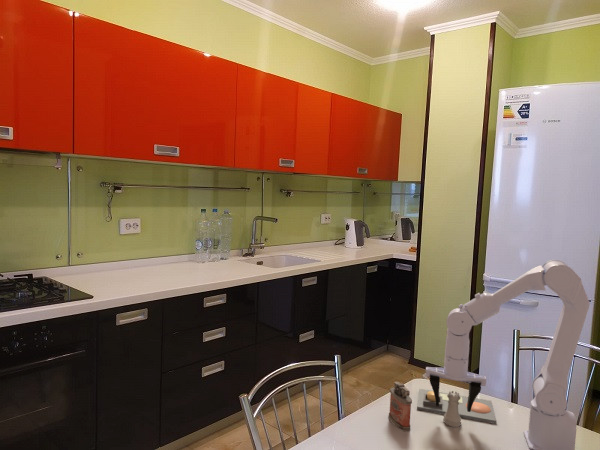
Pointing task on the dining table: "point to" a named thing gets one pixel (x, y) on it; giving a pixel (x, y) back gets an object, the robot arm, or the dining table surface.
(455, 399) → the rook chess piece
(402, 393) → the lighter
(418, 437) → the dining table surface
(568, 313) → the robot arm
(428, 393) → the button
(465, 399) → the grey board
